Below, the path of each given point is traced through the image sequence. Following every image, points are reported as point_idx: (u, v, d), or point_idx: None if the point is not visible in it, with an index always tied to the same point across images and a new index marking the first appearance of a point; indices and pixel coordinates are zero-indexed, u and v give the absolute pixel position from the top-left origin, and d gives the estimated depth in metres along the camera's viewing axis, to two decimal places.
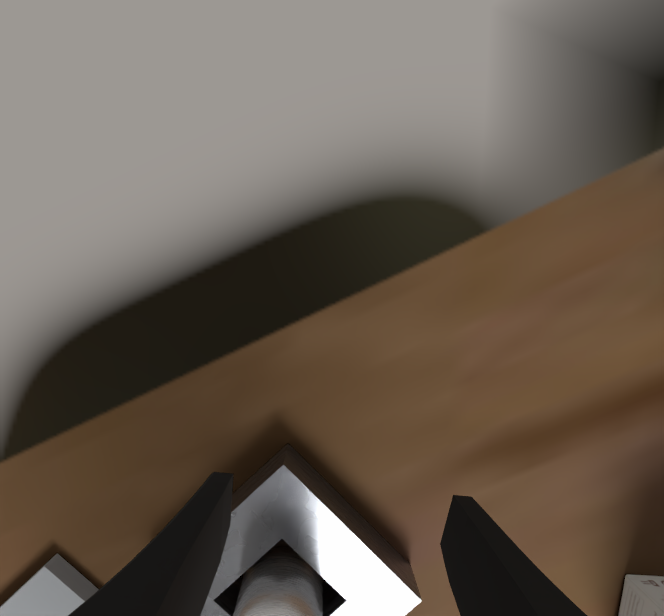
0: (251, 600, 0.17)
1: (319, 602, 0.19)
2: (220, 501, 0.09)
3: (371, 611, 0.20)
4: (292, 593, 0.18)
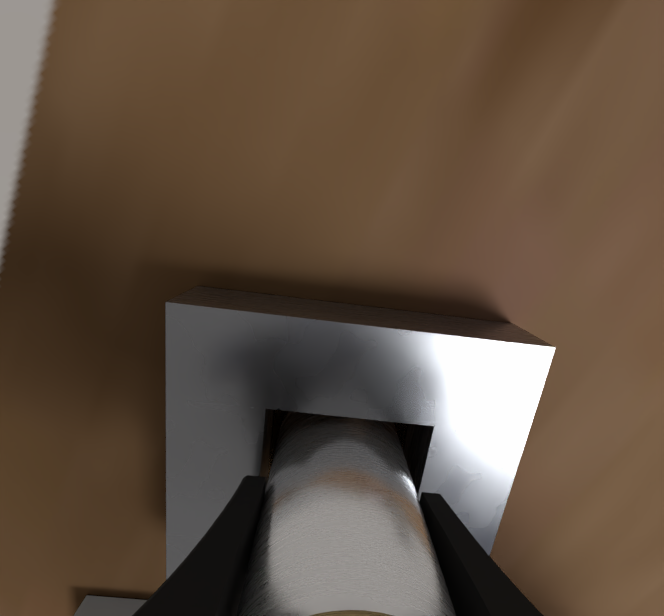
0: (259, 518, 0.09)
1: (381, 454, 0.10)
2: (257, 504, 0.09)
3: (484, 416, 0.11)
4: (313, 469, 0.09)
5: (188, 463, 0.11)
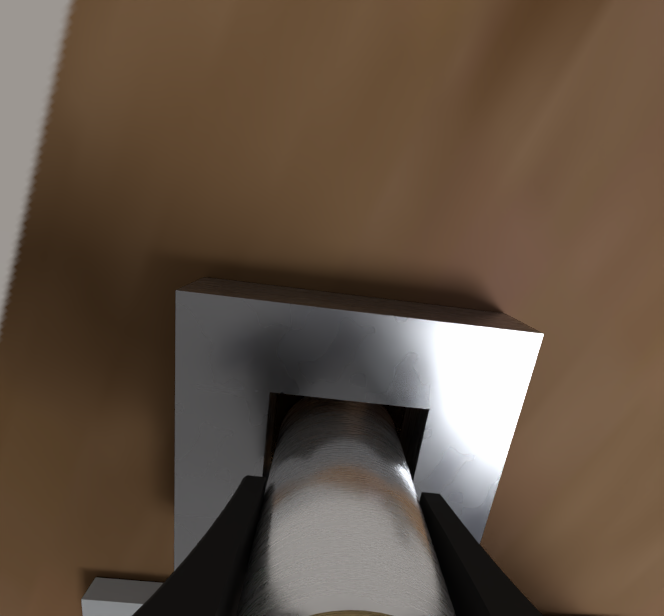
0: (259, 518, 0.09)
1: (381, 454, 0.10)
2: (257, 504, 0.09)
3: (476, 399, 0.12)
4: (313, 469, 0.09)
5: (196, 445, 0.12)
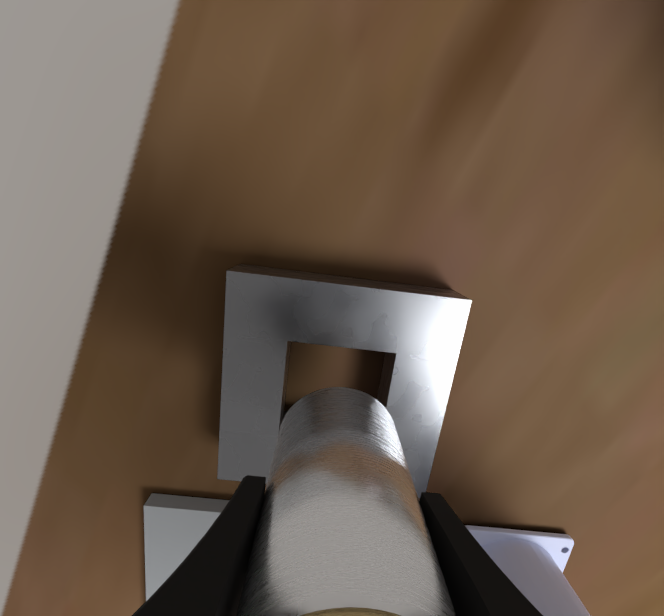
0: (260, 516, 0.09)
1: (381, 453, 0.10)
2: (257, 504, 0.09)
3: (428, 346, 0.17)
4: (314, 468, 0.09)
5: (236, 378, 0.17)
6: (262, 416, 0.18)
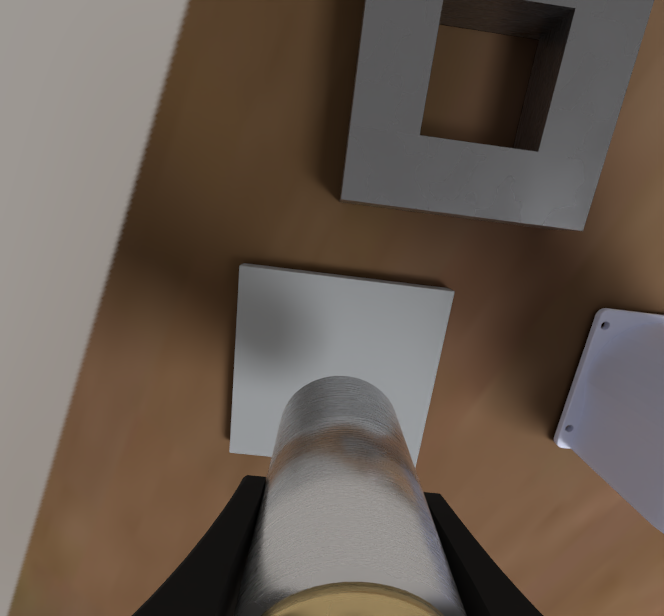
0: (264, 494, 0.09)
1: (388, 441, 0.10)
2: (257, 504, 0.09)
3: None
4: (323, 449, 0.09)
5: (378, 45, 0.14)
6: (403, 104, 0.15)
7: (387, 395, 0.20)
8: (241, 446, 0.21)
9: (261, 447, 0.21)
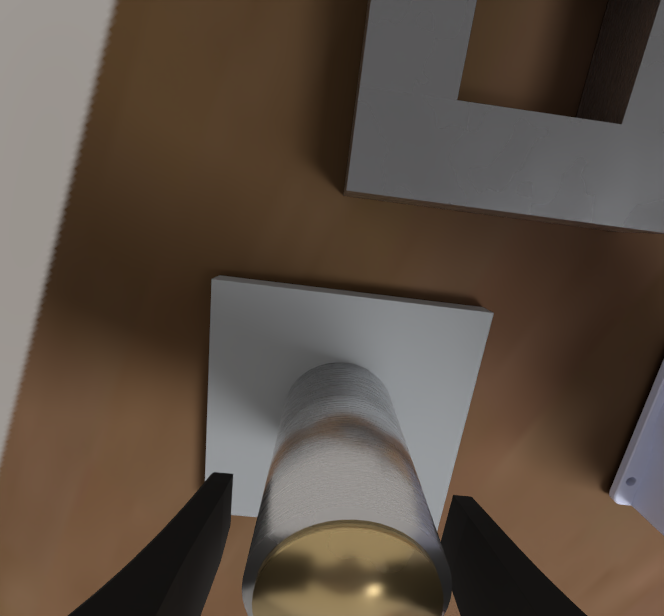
0: (272, 462, 0.11)
1: (382, 416, 0.11)
2: (220, 501, 0.09)
3: None
4: (323, 422, 0.10)
5: None
6: (435, 55, 0.10)
7: None
8: None
9: (244, 506, 0.17)
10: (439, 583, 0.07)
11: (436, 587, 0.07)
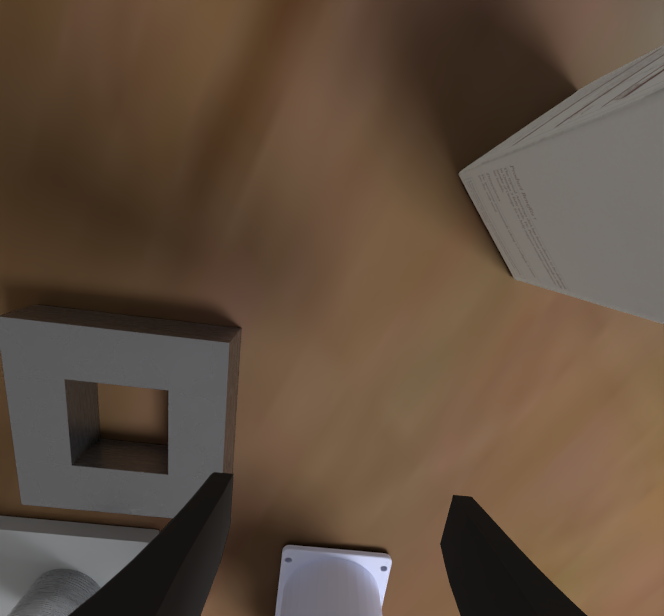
0: None
1: None
2: (220, 501, 0.09)
3: (197, 384, 0.18)
4: None
5: (23, 413, 0.19)
6: (53, 447, 0.19)
7: None
8: None
9: None
10: None
11: None
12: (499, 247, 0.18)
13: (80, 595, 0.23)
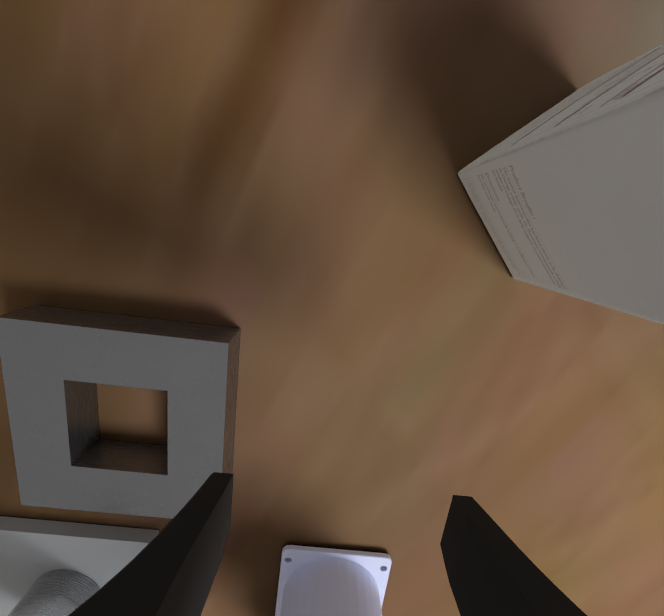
0: None
1: None
2: (220, 501, 0.09)
3: (196, 384, 0.18)
4: None
5: (22, 413, 0.19)
6: (52, 448, 0.19)
7: None
8: None
9: None
10: None
11: None
12: (498, 247, 0.18)
13: (79, 596, 0.23)
